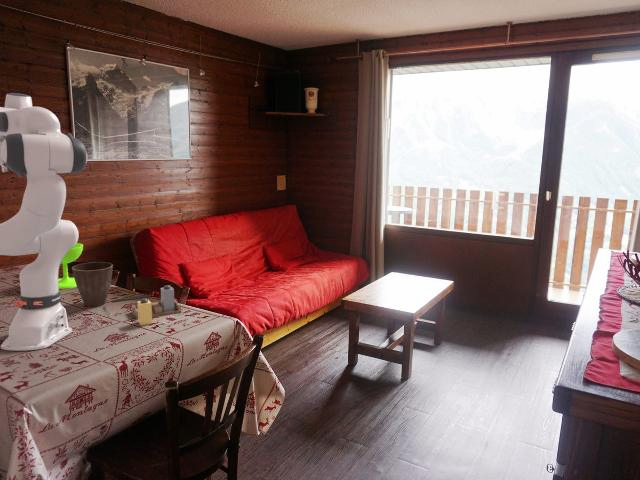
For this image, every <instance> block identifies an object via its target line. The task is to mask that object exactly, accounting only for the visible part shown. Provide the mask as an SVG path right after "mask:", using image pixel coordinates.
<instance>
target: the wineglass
mask: <svg viewBox="0 0 640 480" xmlns="http://www.w3.org/2000/svg"><path fill="white" fill-rule="evenodd" d="M83 250H84V244H83V243H78V242H77V243H76V245H75V246H74V247H73V248H71V249H70V250H69V251H68V252H67V253H66V254H65V256H64V257H63V259H62V261H61V263H60V265H61V264H62V274H63V277H62V278H58V286H59V290H64V289H67V288H68V289H73V288H77V285H76V282H75V279H74V277H70V276H69V272H68V271H69V269H68V268H69V267H68V264H70V263H72V262H75V261H76V260H77V259H78V258H79V257H81V255H82V252H83ZM68 289H67V290H68Z"/></svg>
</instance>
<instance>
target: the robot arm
mask: <svg viewBox="0 0 640 480" xmlns="http://www.w3.org/2000/svg"><path fill="white" fill-rule="evenodd" d="M32 100H33V99H32V97H31V96H30V95H28V94H25V93H17V92H10V93H9V92H8V93H6V95H5V100H4V107H3V106H0V166H1V172H2V173H8V169H9V170H10V171H12V172H13V173H15V174H16V176H17V177H18V178H22V177H23V175H24V176H26V181H27V182H26V186H25V191H24V194H23V197H22V203H21V207H20V208H19V211H18V212H17V213H16V214H15V215H13V216H11V218H9V219H7V220H6V221H4V222H1V223H0V256H13V257H14V256H15V257H16V256H24V255H33V254H34V255H35V254H38V255H37V258H36V259H35V260H34V261H33V262H31V263H29V264H27V265H26V266H25V267H23V268H22V269H21V271H20V273H19V287H20V295H19V298H18V300H15V301H14V307H15V308H16V307H18V310H17V312H16V314H15V315H14V318H13V320H12V322H11V323H10V326H9V328H8V336H7V337H6V338H5V340H4V341H3V342H2V344H0V349H1V350H5V351H21V352H22V351H34V350H35V351H36V350H42V349H46V348H48V347H50V346H52V345H53V344H55V343H56V342H58V341H60V340H61V339H63V338H65V337H66V336H68V335H70V334H71V333H72V332H73V328H72V327H70V326H69V322H68V316H67V315H68V314H67V311H66V308H65V307H64V306H63V304H62V303H61V301H62V294H61V289H59V286H58V279H59V269H60V266H61V261H62V259H63V257H64V256H65V254H66V253H67V252H68V251H69V250H70V249H71V248H73V247H74V246H75V245H76V243H78V241H79V238H80V237H79V236H80V235H79V234H80V232H79V228H78V227H77V226H76V224H75V223H74V222H73V221H71V220H69V219H67V220H66V219H61V218H62V215H63V212H64V209H65V205H66V198H67V186H66V182H65V180H64V179H63V177H61V176H60V175H59V174H67V173H68V174H78V173H82V172H83V171H84V170H85V169H86V165H87V162H88V153H87V149H86V146H85V145H84V143H83V142H82V141H80V139H78V138H76V137H74V136H73V135H72V134H73V133H71V132H68V133H67V134H65V133H62V132H61V122H60V121H59V118H58V117H57V116H56V114H55V113H53V112H52V111H51V110H49V109H48V108H45V107H42V106H33V101H32Z"/></svg>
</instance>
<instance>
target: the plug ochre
mask: <svg viewBox="0 0 640 480" xmlns="http://www.w3.org/2000/svg"><path fill="white" fill-rule="evenodd" d="M136 303H137V304H136V305H138V320H137V323H138V324H139V326H145V325H152V324H153V317H152V304H151V301H150V300H149V298H144V299H140V300H138V301H137V302H136Z"/></svg>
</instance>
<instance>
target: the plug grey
mask: <svg viewBox="0 0 640 480" xmlns="http://www.w3.org/2000/svg"><path fill="white" fill-rule="evenodd" d="M174 299H175V289H174V287H172V286H171V285H170V284H168V285H164V286H163V287H160V301H161V307H162V311H163V312H170V311H174Z"/></svg>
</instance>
